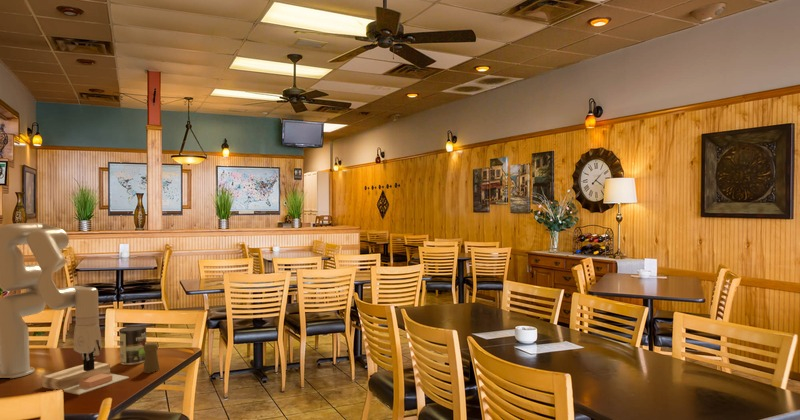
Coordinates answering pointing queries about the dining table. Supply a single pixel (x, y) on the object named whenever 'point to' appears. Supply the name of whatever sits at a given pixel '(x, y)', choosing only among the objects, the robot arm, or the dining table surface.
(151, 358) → the cork
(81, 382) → the terracotta tile
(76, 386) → the grey mat
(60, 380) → the birch board
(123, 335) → the coffee can
